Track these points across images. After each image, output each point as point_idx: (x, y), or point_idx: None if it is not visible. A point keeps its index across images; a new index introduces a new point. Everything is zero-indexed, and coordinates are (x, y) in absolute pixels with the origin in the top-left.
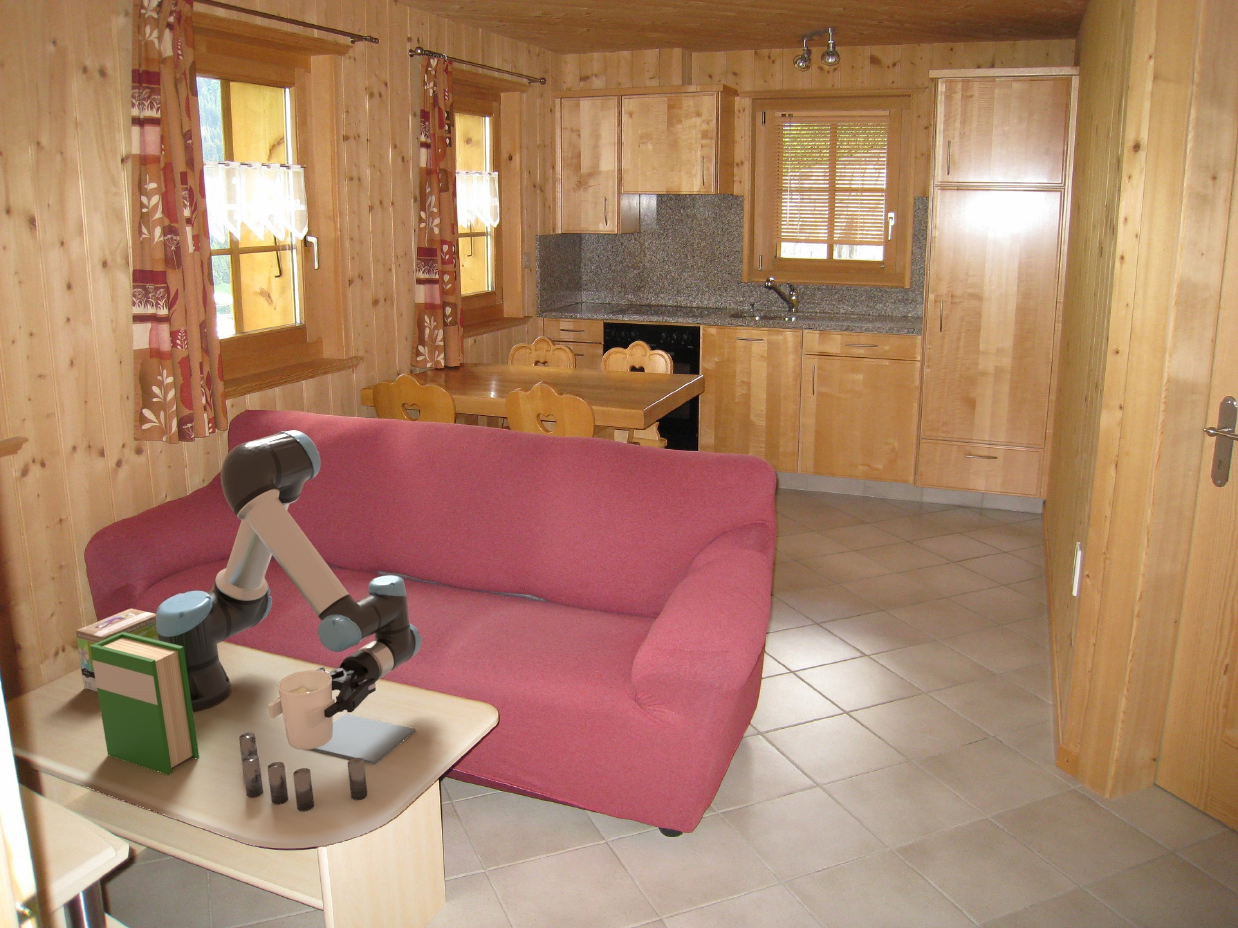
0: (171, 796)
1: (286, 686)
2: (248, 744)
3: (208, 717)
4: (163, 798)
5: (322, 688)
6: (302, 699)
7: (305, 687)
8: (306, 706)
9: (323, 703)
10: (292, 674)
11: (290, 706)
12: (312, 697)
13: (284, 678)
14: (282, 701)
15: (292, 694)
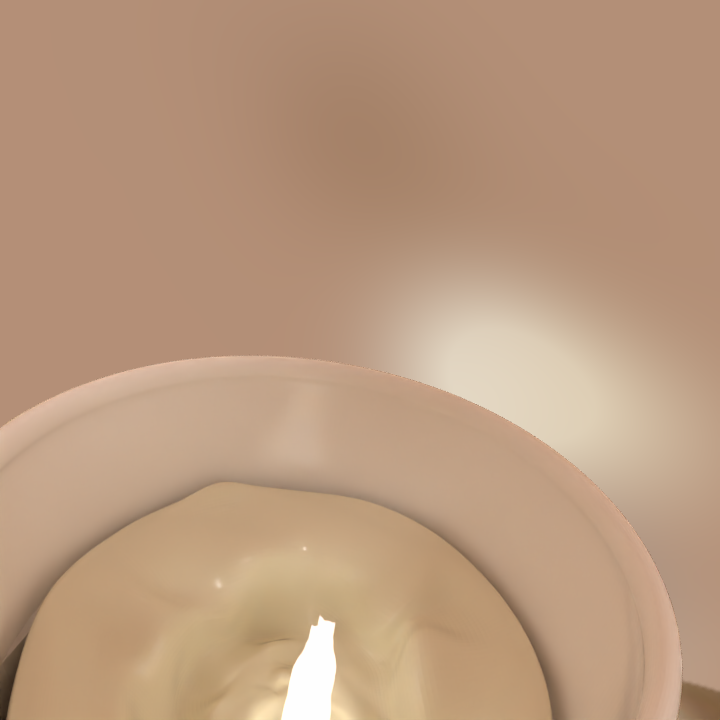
0: (697, 711)
1: (594, 647)
2: None
3: None
4: (705, 697)
5: (56, 396)
6: (237, 407)
7: None
8: (208, 471)
9: (67, 553)
10: (659, 647)
11: (335, 472)
12: (157, 418)
13: (629, 544)
14: (423, 484)
15: (316, 364)
